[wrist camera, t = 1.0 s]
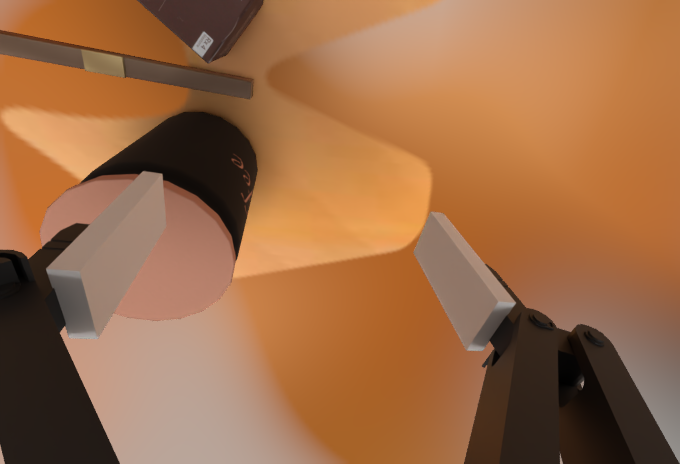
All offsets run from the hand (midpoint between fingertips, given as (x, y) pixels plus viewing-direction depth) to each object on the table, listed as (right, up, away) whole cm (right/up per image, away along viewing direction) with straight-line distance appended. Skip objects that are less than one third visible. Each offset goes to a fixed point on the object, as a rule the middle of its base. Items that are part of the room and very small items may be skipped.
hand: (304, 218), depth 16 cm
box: (-9, +19, +12) cm, 24 cm away
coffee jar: (-13, +7, +19) cm, 24 cm away
